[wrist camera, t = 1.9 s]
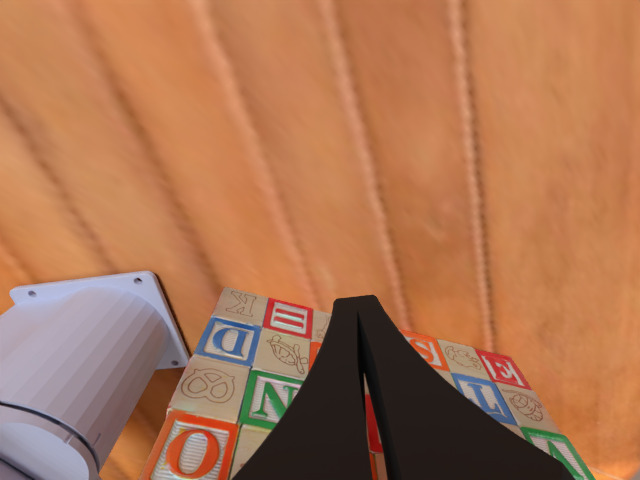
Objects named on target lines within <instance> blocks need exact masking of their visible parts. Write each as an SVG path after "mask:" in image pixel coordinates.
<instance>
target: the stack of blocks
mask: <svg viewBox="0 0 640 480" xmlns="http://www.w3.org/2000/svg"><path fill="white" fill-rule="evenodd" d="M331 315H332V314H330V313H326V312H322V311H317V310H313V309H312V308H308V307H305V306H301V305H296V304H292V303H288V302H284V301H280V300H276V299H272V298H268V297H265V296H261V295H257V294H253V293H249V292H245V291H241V290H237V289H233V288H228V287H224V289H223V291H222V293H221V295H220V297H219V300H218V302H217V304H216V306H215V308H214V311H213V313H212V316H211V319H210V321H209V322H208V324H207V326H206V329H205V331H204V333H203V335H202V337H201V339H200V341H199V343H198V345H197V347H196V349H195V351H194V354H193V356H192V357H191V358H190V360H189V362H188V364H187V366H186V368H185V370H184V372H183V375H182V377H181V379H180V381H179V383H178V385H177V388H176V390H175V391H174V393H173V396H172V399H171V401H170V403H169V405H168V408H167V411H166V419H165V422H164V424H163V426H162V429H161V431H160V433H159V435H158V437H157V440H156V442H155V444H154V446H153V448H152V450H151V453H150V455H149V457H148V459H147V461H146V464H145V466H144V468H143V470H142V472H141V474H140V477H139V479H138V480H231V479H232V478H233V477H234V475H235V474H236V473H237V472H238V471H239V470H240V469H241V468H242V466H243V465H244V464H245V463H246V462H247V461H248V460H249V459H250V457H251V456H252V455H253V454H254V453H255V451H256V450H257V449H258V448H259V446H260V445H261V444H262V443H263V441H264V440H265V439H266V437H267V436H268V435H269V433H270V432H271V431H272V429H273V428H274V427H275V425H276V424H277V423H278V421H279V420H280V419H281V417H282V416H283V414H284V413H285V411H286V410H287V408H288V407H289V405H290V404H291V402H292V400H293V399H294V397H295V396H296V394H297V392H298V391H299V389H300V387H301V386H302V384H303V382H304V380H305V378H306V377H307V375H308V373H309V371H310V369H311V367H312V365H313V363H314V360H315V358H316V356H317V354H318V352H319V349H320V347H321V345H322V342H323V339H324V337H325V334H326V331H327V328H328V325H329V322H330V319H331ZM398 330H399V331H400V332H401V333H402V335H403V336H404V337H405V338H406V340H407V341H408V342H409V343H410V344H411V345H412V347H413V348H414V349H415V350H416V351H417V352H418V353H419V354H420V355H421V356H422V357H423V358H424V359H425V360H426V362H427V363H428V364H429V365H430V366H431V367H433V368H434V369H435V370H436V371H437V372H438V373H439V374H440V375H441V376H442V377H443V378H444V379H445V380H446V381H448V382H449V383H450V384H451V385H452V386H453V387H455V388H456V389H457V390H458V391H459V392H460V393H462V394H463V395H464V396H465V397H467V398H468V399H469V400H471V401H472V402H473V403H474V404H476V405H477V406H478V407H480V408H481V409H482V410H483V411H485V412H486V413H487V414H489V415H490V416H491V417H492V418H494V419H495V420H497V421H498V422H500V423H501V424H503V425H504V426H505V427H507V428H508V429H510V430H511V431H513V432H514V433H515V434H517V435H518V436H520V437H522V438H523V439H525V440H527V441H528V442H530V443H531V444H533V445H535V446H536V447H538V448H540V449H541V450H543V451H544V452H546V453H548V454H549V455H551V456H553V457H554V458H556V459H557V460H559V461H561V462H562V463H563V464H564V465H565V466H566V468H567V469H568V470H569V472H570V473H571V474H572V475H573V477H574V478H575V479H576V480H596V479H595V478H594V476H593V475H592V473H591V472H590V470H589V469H588V468H587V466H586V464H585V463H584V461H583V460H582V458H581V457H580V455H579V454H578V453H577V451H576V450H575V448H574V447H573V445H572V444H571V442H570V441H569V439H568V438H567V437H566V436H565V435H562V433H561V431H560V429H559V428H558V426H557V425H556V423H555V421H554V420H553V418H552V417H551V416H550V414H549V413H548V411H547V410H546V408H545V407H544V405H543V404H542V402H541V401H540V399H539V397H538V396H537V394H536V393H535V392H534V391H532V389H531V387H530V386H529V384H528V382H527V381H526V379H525V378H524V376H523V374H522V373H521V371H520V370H519V368H518V367H517V366H516V364H515V363H514V361H513V360H512V358H511V357H508V356H503V355H499V354H494V353H490V352H486V351H481V350H477V349H473V348H472V347H470V346H466V345H462V344H458V343H453V342H449V341H445V340H440V339H435V338H432V337H429V336H425V335H421V334H417V333H413V332H409V331H404V330H401V329H398ZM364 381H365V403H366V426H367V440H368V448H369V455H370V462H371V470H372V477H373V480H387V473H386V467H385V461H384V454H383V449H382V445H381V440H380V435H379V431H378V427H377V423H376V419H375V415H374V411H373V407H372V403H371V399H370V394H369V390H368V386H367V382H366V378H365V374H364Z"/></svg>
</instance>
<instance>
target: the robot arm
mask: <svg viewBox="0 0 640 480" xmlns="http://www.w3.org/2000/svg"><path fill="white" fill-rule="evenodd" d="M137 278H140V279H141V280H142V281H139V280H138V279H137ZM33 291H34V292H35V293H34V292H33ZM10 296H11V298H12V299H13V301H14V302H15V305H14V306H13V307H11V308H10V309H9V310H7V311H6V312H5V313H4V314H2V315H1V316H0V480H102V479H101V478H100V476H99V475H98V474H99V472H100V470H101V469H102V467H103V465H104V463H105V461H106V459H107V458H108V456H109V454H110V452H111V450H112V449H113V447H114V445H115V443H116V441H117V439H118V438H119V436H120V434H121V432H122V430H123V428H124V427H125V425H126V423H127V421H128V419H129V417H130V416H131V414H132V412H133V410H134V408H135V406H136V405H137V403H138V401H139V399H140V397H141V395H142V394H143V392H144V390H145V388H146V386H147V384H148V383H149V381H150V379H151V377H152V375H153V373H154V372H155V370H159V369H168V368H178V367H186V366H187V364H188V362H189V360H190V357H189V354H188V352H187V349H186V347H185V345H184V342H183V340H182V337H181V335H180V333H179V330H178V328H177V325H176V323H175V321H174V318H173V316H172V314H171V311H170V309H169V306H168V304H167V302H166V299H165V297H164V294H163V292H162V290H161V287H160V285H159V282H158V280H157V278H156V276H155V274H154V273H152V272H150V271H140V272H131V273H123V274H115V275H107V276H99V277H90V278H82V279H74V280H66V281H57V282H49V283H41V284H33V285H24V286H17V287H15V288H13V289H12V290H11V291H10ZM174 360H175V361H174ZM364 374H365V378H366V382H367V386H368V390H369V394H370V399H371V403H372V407H373V411H374V415H375V419H376V423H377V427H378V431H379V435H380V440H381V445H382V449H383V454H384V461H385V467H386V473H387V480H576V479H575V478H574V477H573V475H572V474H571V473H570V472H569V470H568V469H567V468H566V466H565V465H564V464H563V463H562V462H561V461H559V460H557V459H556V458H554V457H553V456H551V455H549V454H548V453H546V452H544V451H543V450H541V449H540V448H538V447H536V446H535V445H533V444H531V443H530V442H528V441H527V440H525V439H523V438H522V437H520V436H518V435H517V434H515V433H514V432H513V431H511V430H510V429H508V428H507V427H505V426H504V425H503V424H501V423H500V422H498V421H497V420H495V419H494V418H492V417H491V416H490V415H489V414H487V413H486V412H485V411H483V410H482V409H481V408H480V407H478V406H477V405H476V404H474V403H473V402H472V401H471V400H469V399H468V398H467V397H465V396H464V395H463V394H462V393H460V392H459V391H458V390H457V389H456V388H455V387H453V386H452V385H451V384H450V383H449V382H448V381H446V380H445V379H444V378H443V377H442V376H441V375H440V374H439V373H438V372H437V371H436V370H435V369H434V368H433V367H431V366H430V365H429V364H428V363H427V362H426V360H425V359H424V358H423V357H422V356H421V355H420V354H419V353H418V352H417V351H416V350H415V349H414V348H413V347H412V345H411V344H410V343H409V342H408V341H407V340H406V338H405V337H404V336H403V335H402V333H401V332H400V331H399V330H398V328H397V327H396V326H395V325H394V323H393V322H392V321H391V319H390V318H389V316H388V315H387V314H386V312H385V311H384V309H383V307H382V306H381V304H380V302H379V301H378V299H377V297H376V296H374V295H366V296H358V297H349V298H340V299H336V300H335V301H334V304H333V311H332V315H331V319H330V322H329V325H328V328H327V331H326V334H325V337H324V339H323V342H322V345H321V347H320V349H319V352H318V354H317V356H316V358H315V360H314V363H313V365H312V367H311V369H310V371H309V373H308V375H307V377H306V378H305V380H304V382H303V384H302V386H301V387H300V389H299V391H298V392H297V394H296V396H295V397H294V399H293V400H292V402H291V404H290V405H289V407H288V408H287V410H286V411H285V413H284V414H283V416H282V417H281V419H280V420H279V421H278V423H277V424H276V425H275V427H274V428H273V429H272V431H271V432H270V433H269V435H268V436H267V437H266V439H265V440H264V441H263V443H262V444H261V445H260V446H259V448H258V449H257V450H256V451H255V453H254V454H253V455H252V456H251V457H250V459H249V460H248V461H247V462H246V463H245V464H244V465H243V466H242V468H241V469H240V470H239V471H238V472H237V473H236V474H235V475H234V477H233V478H232V479H231V480H373V477H372V470H371V462H370V455H369V448H368V440H367V426H366V403H365V381H364Z"/></svg>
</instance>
